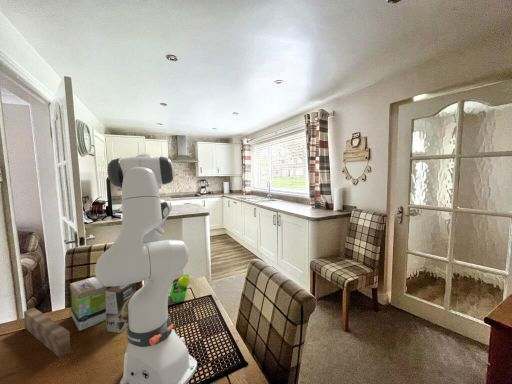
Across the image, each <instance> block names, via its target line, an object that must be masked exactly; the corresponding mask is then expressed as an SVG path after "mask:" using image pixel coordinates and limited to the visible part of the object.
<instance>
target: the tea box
mask: <svg viewBox="0 0 512 384" xmlns="http://www.w3.org/2000/svg"><path fill="white" fill-rule="evenodd" d="M106 290H108V289H107V287H105V286H103V285H102V284H101V283H99V281H98V280H97V278H96V276H93V277H89V278H85V279H82V280H77V281H75V282H72V283H71V282H70V284H69V295H70V297H69V299H70V315H71V317H72V320H73V322H74V323H75V326H76V328H77V329H78V331H82V330H85V329H88V328H90V327H92V326H95V325H97V324H99V323H102V322H104V321H106V294H105V291H106Z"/></svg>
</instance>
